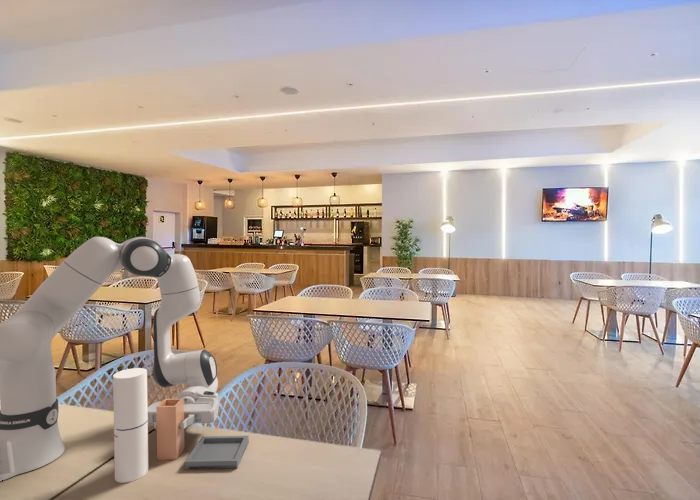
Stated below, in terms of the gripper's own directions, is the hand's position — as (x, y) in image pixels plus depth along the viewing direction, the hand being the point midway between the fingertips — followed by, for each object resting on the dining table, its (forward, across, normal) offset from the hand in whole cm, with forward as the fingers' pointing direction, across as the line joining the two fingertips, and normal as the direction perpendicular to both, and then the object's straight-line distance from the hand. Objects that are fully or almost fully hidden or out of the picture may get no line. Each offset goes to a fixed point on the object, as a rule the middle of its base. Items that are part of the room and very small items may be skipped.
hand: (169, 426), depth 99 cm
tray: (0, +13, +8) cm, 15 cm away
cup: (-1, 0, +8) cm, 8 cm away
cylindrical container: (+7, -6, +8) cm, 12 cm away
